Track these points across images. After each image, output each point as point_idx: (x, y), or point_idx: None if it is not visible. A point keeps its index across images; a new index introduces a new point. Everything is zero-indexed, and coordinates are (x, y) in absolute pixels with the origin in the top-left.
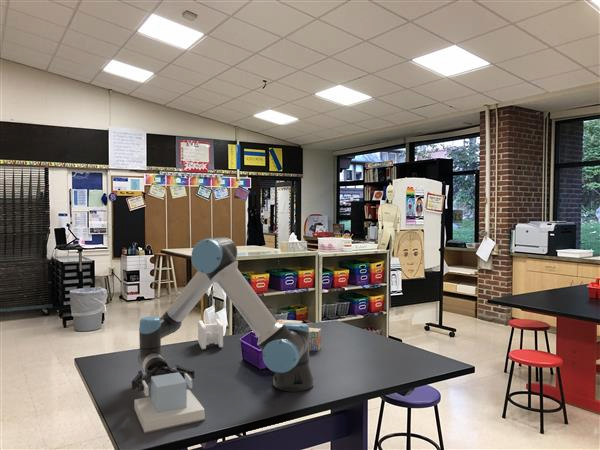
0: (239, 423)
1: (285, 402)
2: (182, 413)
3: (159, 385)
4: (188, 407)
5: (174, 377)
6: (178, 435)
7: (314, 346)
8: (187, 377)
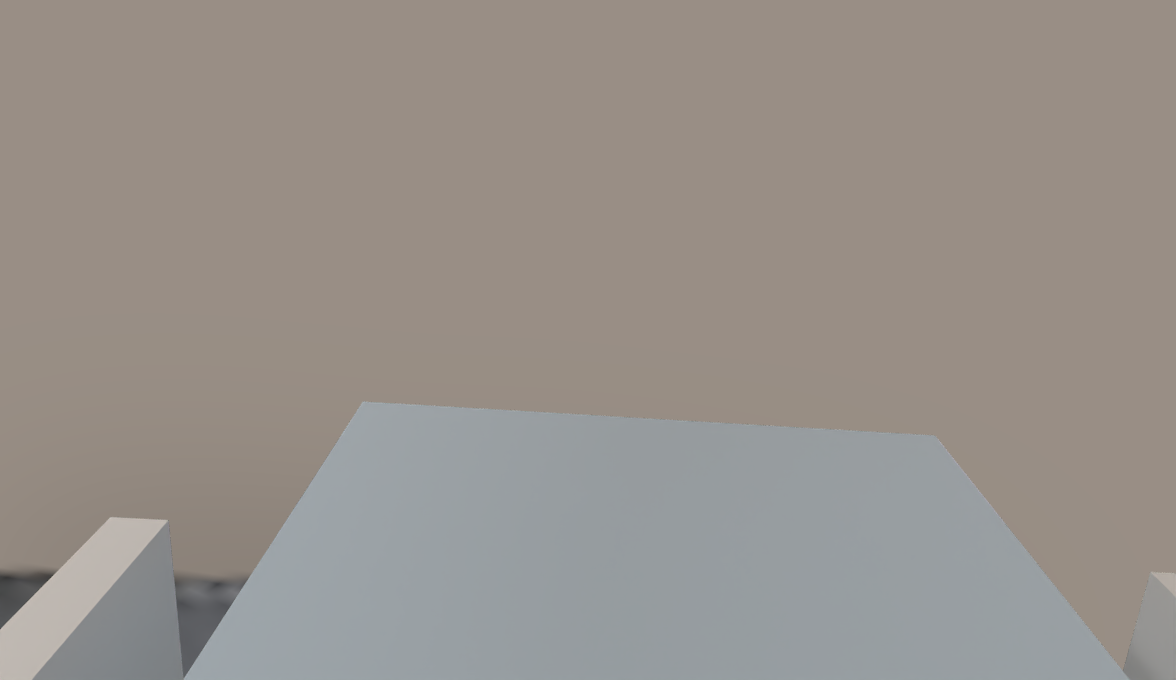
0: (15, 592)
1: None
2: None
3: (895, 461)
4: None
5: (464, 633)
6: None
7: None
8: (53, 669)
